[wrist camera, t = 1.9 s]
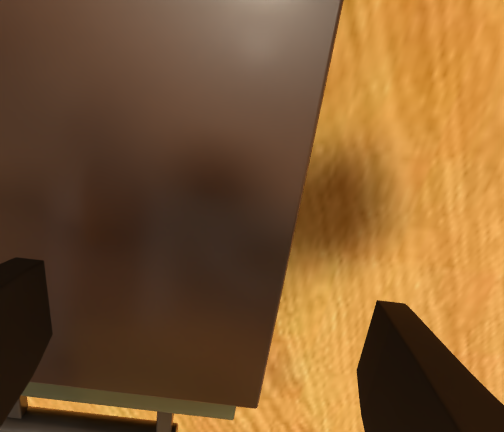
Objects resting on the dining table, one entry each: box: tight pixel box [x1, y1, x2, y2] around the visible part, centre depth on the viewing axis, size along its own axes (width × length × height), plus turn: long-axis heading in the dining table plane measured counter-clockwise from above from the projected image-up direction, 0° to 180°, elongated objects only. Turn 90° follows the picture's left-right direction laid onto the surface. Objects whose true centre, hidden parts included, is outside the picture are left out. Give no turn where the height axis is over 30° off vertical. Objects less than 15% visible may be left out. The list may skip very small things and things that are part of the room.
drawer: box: [0, 382, 236, 432], centre depth 16 cm, size 18×11×7 cm, turn 172°
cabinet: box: [0, 0, 344, 408], centre depth 14 cm, size 14×12×8 cm
